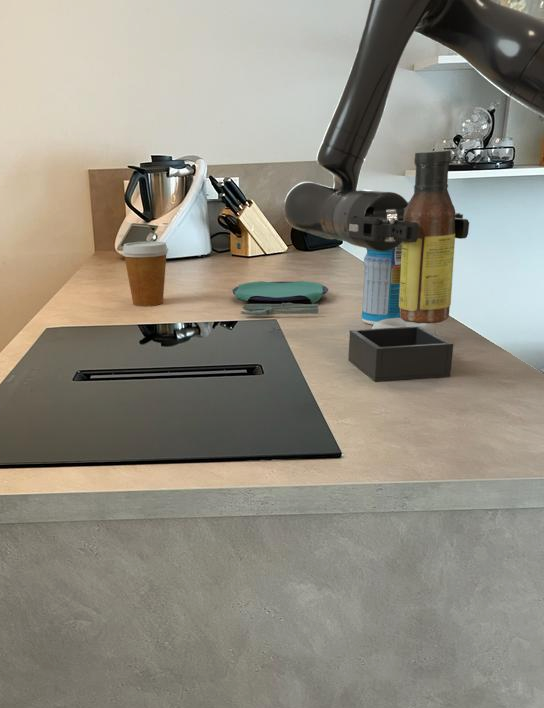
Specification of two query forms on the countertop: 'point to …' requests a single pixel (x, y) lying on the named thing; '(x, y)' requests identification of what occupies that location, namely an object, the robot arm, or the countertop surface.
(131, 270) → the disposable coffee cup
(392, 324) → the donut
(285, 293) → the cutlery set
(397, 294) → the beverage bottle
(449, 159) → the sauce bottle
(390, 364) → the box
